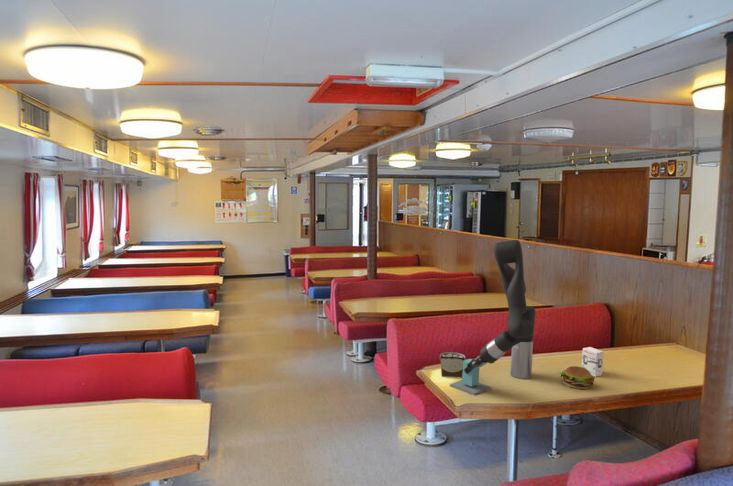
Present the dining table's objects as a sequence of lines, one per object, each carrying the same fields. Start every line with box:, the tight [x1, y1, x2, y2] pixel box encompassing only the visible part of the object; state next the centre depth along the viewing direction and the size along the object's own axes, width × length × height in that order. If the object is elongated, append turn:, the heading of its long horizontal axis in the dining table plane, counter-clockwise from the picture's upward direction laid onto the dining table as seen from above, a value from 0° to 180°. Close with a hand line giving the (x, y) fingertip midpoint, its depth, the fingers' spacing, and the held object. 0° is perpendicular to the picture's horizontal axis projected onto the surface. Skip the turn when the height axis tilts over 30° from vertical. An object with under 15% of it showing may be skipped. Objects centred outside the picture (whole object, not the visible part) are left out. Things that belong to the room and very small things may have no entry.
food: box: [559, 365, 596, 390], centre depth 228 cm, size 14×14×8 cm
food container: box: [438, 351, 467, 379], centre depth 236 cm, size 12×6×10 cm, turn 84°
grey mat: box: [449, 379, 492, 396], centre depth 221 cm, size 12×13×1 cm
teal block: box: [461, 358, 480, 387], centre depth 221 cm, size 5×5×10 cm
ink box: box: [580, 346, 604, 378], centre depth 243 cm, size 9×5×12 cm, turn 26°
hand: (469, 370), depth 221 cm, fingers closed on teal block, 4 cm apart
